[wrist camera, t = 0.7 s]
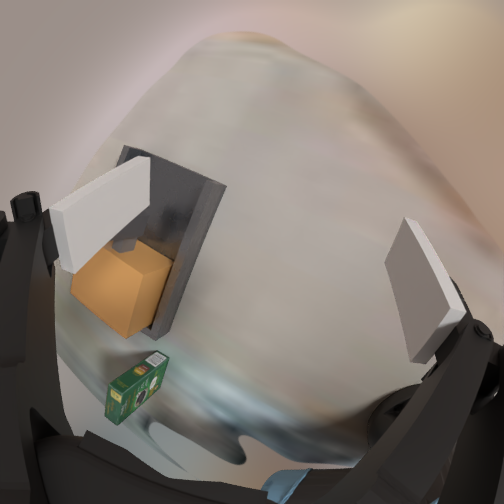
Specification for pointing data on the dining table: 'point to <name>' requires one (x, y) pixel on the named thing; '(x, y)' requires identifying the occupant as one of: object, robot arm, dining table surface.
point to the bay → (175, 225)
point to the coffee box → (134, 387)
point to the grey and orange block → (124, 280)
